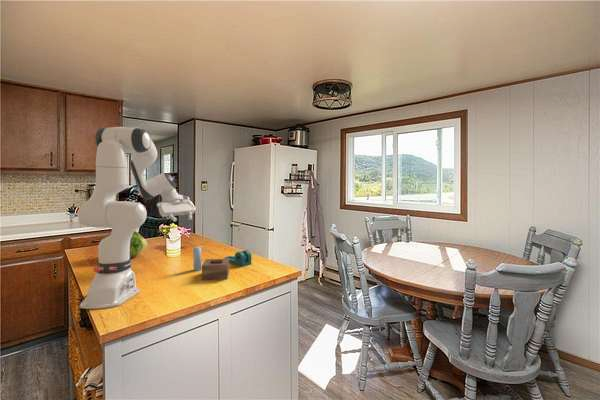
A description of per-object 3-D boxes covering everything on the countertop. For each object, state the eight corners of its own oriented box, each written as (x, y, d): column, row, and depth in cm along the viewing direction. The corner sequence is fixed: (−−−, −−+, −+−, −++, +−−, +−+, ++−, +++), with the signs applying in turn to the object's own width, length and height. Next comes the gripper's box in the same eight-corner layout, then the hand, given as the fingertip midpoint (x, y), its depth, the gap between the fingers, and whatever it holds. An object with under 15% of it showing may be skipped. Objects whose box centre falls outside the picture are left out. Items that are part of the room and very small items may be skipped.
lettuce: (152, 258, 183) (153, 228, 186) (111, 260, 165) (113, 228, 167) (137, 257, 195) (138, 229, 197) (96, 260, 176) (98, 229, 178)
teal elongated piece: (251, 264, 171) (251, 251, 171) (242, 267, 166) (242, 253, 165) (231, 259, 182) (231, 246, 182) (222, 261, 177) (222, 248, 176)
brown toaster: (227, 279, 145) (227, 265, 145) (201, 280, 143) (201, 265, 143) (229, 271, 157) (229, 258, 156) (205, 272, 155) (205, 259, 155)
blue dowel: (200, 270, 157) (200, 248, 157) (192, 271, 157) (192, 248, 156) (202, 268, 161) (201, 246, 161) (194, 268, 161) (194, 247, 160)
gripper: (157, 198, 160) (167, 218, 155) (191, 196, 176) (201, 214, 171) (153, 206, 163) (163, 225, 158) (186, 203, 179) (196, 221, 174)
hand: (183, 219), depth 165 cm, fingers open, 8 cm apart
